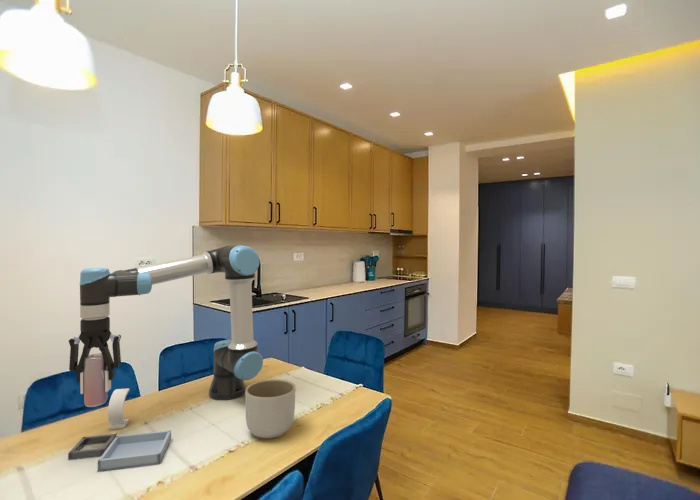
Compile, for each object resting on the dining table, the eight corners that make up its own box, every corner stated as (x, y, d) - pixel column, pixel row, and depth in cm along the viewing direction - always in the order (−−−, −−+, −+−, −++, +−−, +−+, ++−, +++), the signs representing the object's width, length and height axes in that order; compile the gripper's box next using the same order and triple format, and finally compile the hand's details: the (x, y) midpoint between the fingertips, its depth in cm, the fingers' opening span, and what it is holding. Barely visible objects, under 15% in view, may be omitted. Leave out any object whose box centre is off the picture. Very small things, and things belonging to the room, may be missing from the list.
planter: (250, 449, 113) (251, 401, 113) (240, 426, 129) (241, 383, 129) (301, 437, 121) (302, 392, 121) (286, 416, 136) (287, 376, 136)
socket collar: (116, 439, 118) (116, 433, 118) (104, 455, 109) (104, 449, 109) (83, 443, 116) (83, 437, 116) (68, 460, 107) (68, 453, 107)
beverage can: (92, 399, 115) (91, 353, 115) (111, 399, 116) (111, 352, 116) (79, 408, 109) (79, 359, 109) (100, 407, 110) (99, 358, 110)
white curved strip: (129, 421, 131) (129, 388, 131) (122, 429, 125) (122, 395, 125) (115, 422, 130) (115, 389, 130) (107, 430, 124) (107, 395, 124)
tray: (171, 439, 119) (171, 430, 119) (160, 463, 105) (160, 453, 105) (116, 445, 115) (116, 435, 115) (97, 471, 101) (97, 461, 101)
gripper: (133, 313, 118) (133, 383, 119) (66, 316, 114) (67, 389, 114) (125, 318, 111) (125, 392, 111) (53, 321, 106) (54, 399, 107)
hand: (96, 390), depth 113 cm, fingers closed on beverage can, 6 cm apart
